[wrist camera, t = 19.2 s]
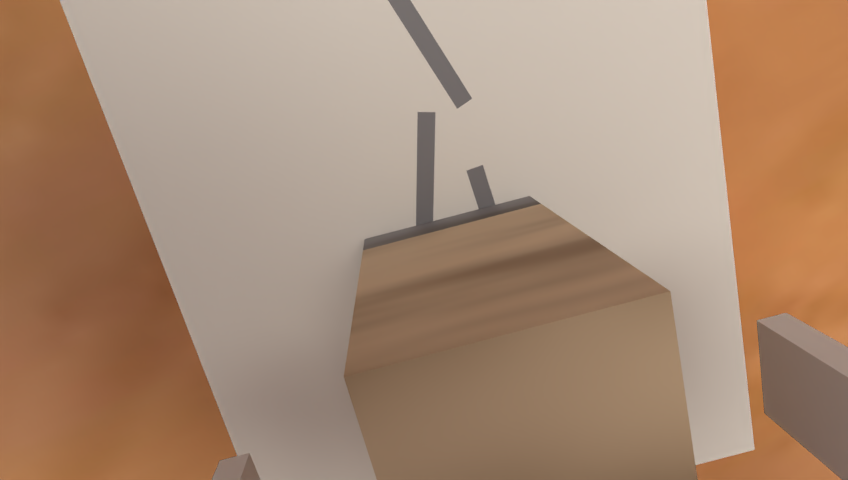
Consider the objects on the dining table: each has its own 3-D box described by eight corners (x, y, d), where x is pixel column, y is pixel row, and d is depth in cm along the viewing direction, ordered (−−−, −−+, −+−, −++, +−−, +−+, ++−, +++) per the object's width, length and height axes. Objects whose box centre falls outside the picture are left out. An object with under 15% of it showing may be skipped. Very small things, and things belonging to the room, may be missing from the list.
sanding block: (364, 239, 20) (343, 377, 10) (529, 195, 20) (670, 291, 10) (433, 474, 22) (469, 767, 12) (578, 436, 22) (729, 698, 12)
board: (-5, -248, 17) (-55, -292, 15) (625, -408, 17) (656, -472, 15) (291, 535, 25) (283, 572, 23) (725, 422, 25) (754, 449, 23)
